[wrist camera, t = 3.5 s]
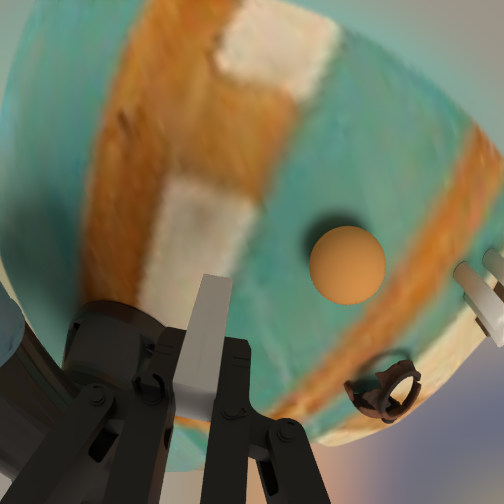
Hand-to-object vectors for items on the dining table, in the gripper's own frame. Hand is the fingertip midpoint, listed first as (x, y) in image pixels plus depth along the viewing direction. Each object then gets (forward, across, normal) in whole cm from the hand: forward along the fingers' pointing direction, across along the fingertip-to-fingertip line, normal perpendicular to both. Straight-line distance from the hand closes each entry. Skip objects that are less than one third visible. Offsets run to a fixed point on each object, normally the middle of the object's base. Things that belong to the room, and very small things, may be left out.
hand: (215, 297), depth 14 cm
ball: (+6, +9, 0) cm, 11 cm away
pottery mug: (+10, +23, -19) cm, 31 cm away
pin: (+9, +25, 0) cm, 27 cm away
